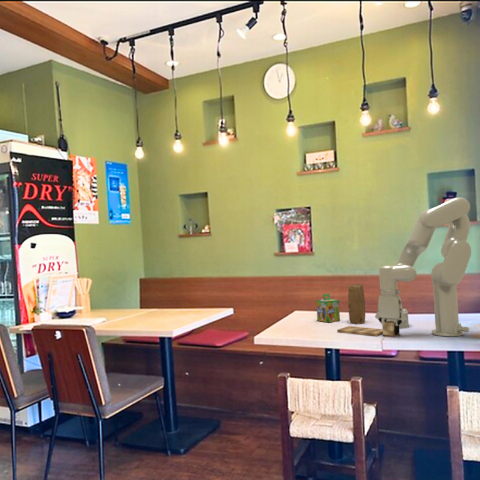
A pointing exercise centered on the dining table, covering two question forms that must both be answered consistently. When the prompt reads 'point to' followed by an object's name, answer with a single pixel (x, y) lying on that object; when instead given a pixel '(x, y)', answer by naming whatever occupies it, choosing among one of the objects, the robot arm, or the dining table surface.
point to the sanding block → (388, 329)
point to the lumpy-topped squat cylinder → (405, 322)
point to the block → (356, 304)
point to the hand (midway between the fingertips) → (391, 333)
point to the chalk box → (328, 309)
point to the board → (361, 331)
